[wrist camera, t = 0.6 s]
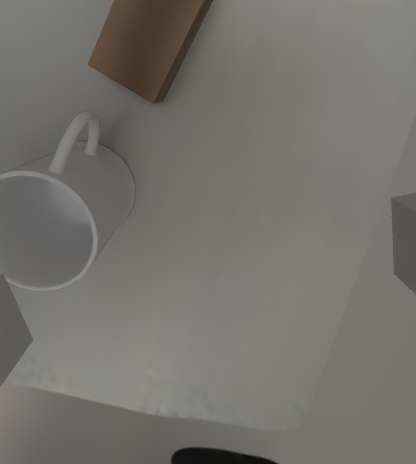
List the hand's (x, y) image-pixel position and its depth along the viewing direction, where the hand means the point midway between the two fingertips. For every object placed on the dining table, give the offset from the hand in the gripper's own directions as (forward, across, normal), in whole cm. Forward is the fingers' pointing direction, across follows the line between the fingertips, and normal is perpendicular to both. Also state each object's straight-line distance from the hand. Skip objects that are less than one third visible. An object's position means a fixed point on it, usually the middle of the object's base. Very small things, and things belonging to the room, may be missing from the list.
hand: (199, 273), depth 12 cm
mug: (+22, -10, +1) cm, 25 cm away
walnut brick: (+22, -1, +11) cm, 25 cm away
